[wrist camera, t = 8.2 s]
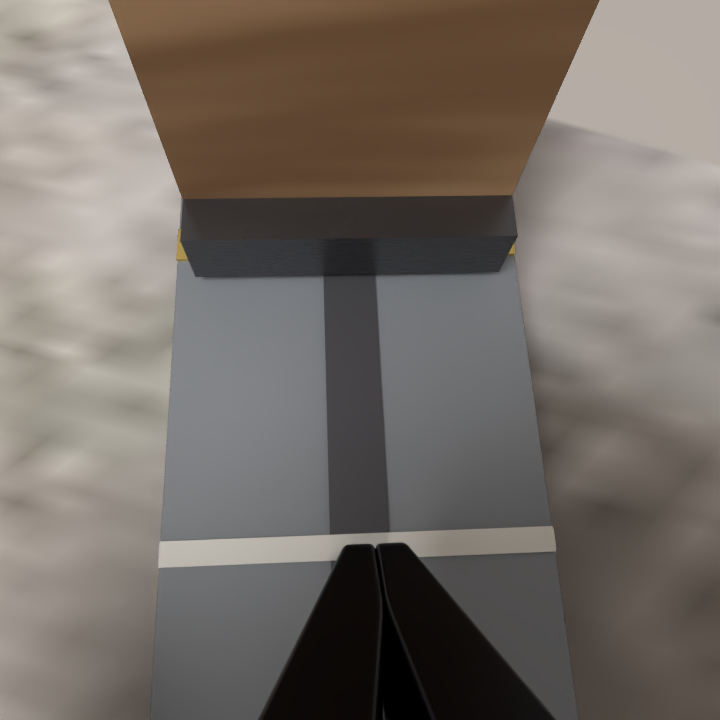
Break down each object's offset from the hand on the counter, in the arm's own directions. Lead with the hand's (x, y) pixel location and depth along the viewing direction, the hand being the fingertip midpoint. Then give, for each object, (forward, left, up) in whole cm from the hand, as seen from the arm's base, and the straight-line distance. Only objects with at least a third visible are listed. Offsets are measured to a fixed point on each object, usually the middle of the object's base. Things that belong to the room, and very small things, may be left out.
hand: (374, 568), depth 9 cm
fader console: (+1, +2, -6) cm, 7 cm away
